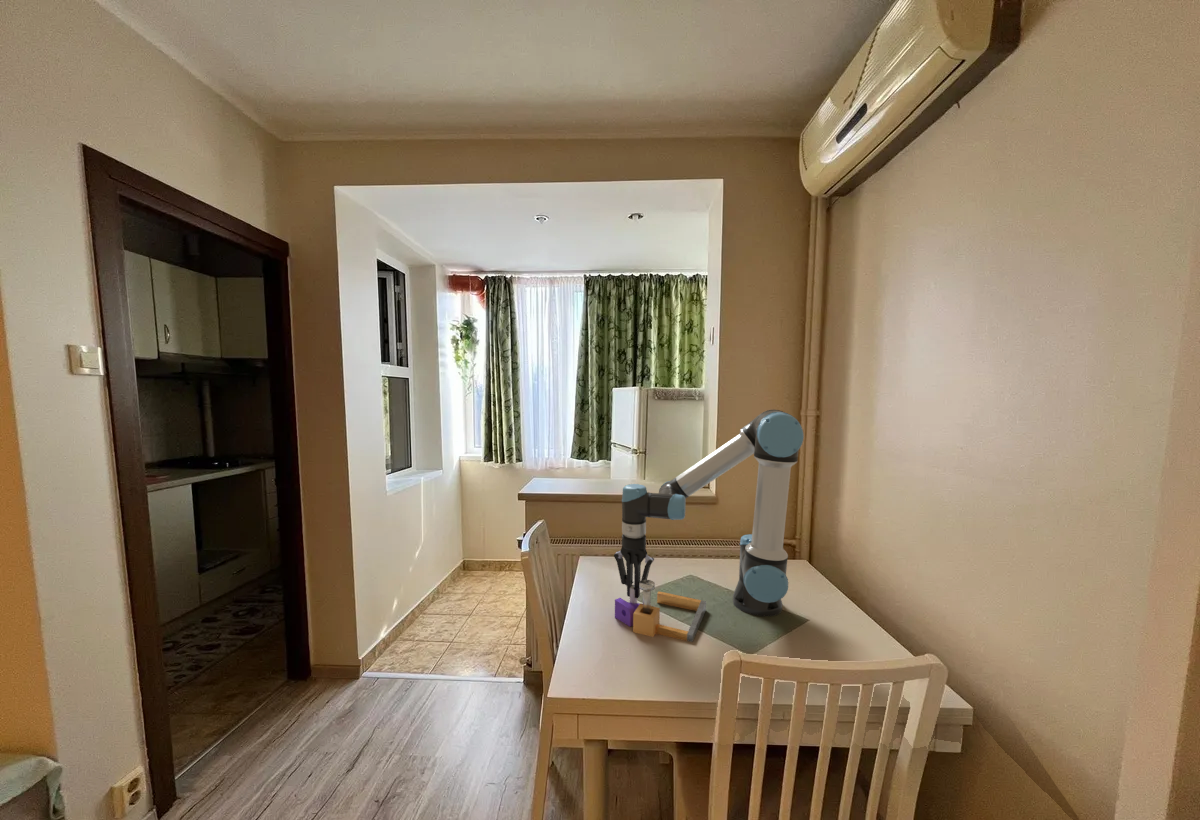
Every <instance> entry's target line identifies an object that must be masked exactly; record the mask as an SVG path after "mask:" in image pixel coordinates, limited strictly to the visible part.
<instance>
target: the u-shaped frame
mask: <svg viewBox="0 0 1200 820" xmlns="http://www.w3.org/2000/svg"><path fill="white" fill-rule="evenodd" d="M656 596H657V597H656V604H662V605H665V606H671V607H676V608H680V609H686V610H691V611H695V614H694V617H693V619H692V622H691V623H690V626H689V629H688V630H683V629H679V628H676V627H672V626H667V625H664V624H660V623H659V624H657V625H656V630H655V635H661V636H664V637H669V638H673V639H677V640H682V641H687V642H691V643H693V642H694V639H695V636H696V635H697V632H698V630H699V627H700V625H701V623H702V621H703V618H704V616H705V613H706V611H707V600H701V599H698V598H694V597H693V598H691V597H687V596H682V595H678V594H673V593H669V592H664V591H657V594H656Z"/></svg>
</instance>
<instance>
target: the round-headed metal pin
mask: <svg viewBox="0 0 1200 820" xmlns="http://www.w3.org/2000/svg"><path fill="white" fill-rule="evenodd" d="M655 586H656V584H655V581H653V580H651V579H647V580H642V581H641V580H640V582H639V588H640V591H642V604H643V613H644V614H649V615H650V614H651V606H652V604H651V603H652V602H651V600H652V599H651V598H652V597H651V595H652V592H653V590H656V589H655Z"/></svg>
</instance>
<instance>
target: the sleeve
mask: <svg viewBox="0 0 1200 820" xmlns="http://www.w3.org/2000/svg"><path fill="white" fill-rule="evenodd" d="M660 613H661V609H660V607H657V606H652V605H651V614H650V615H649V614H644V613H643V603H640V605H639V606H638V607H637V609H636V610H635V612H634V613H633V627H632V632H633V633H635V634H638V635H644V636H646V637H651V638H654V637H655V635H656V634H655V630H656V625H657V624H660V622H661V621H660Z"/></svg>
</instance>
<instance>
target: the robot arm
mask: <svg viewBox="0 0 1200 820" xmlns="http://www.w3.org/2000/svg"><path fill="white" fill-rule="evenodd" d="M804 437H805V436H804V429H803V427H802V425H801V423H800V422H799V421H798V419H797V418H796V417H794V416H793V415H791V414H789V413H787V412H785V411H783V410H779V409H767V410H764V411H763V412H760V413H759V414H758V415H757V416H756V417H754V419H752V420H751V421H749V422H748V423H747V424H746V425H745V426H743V427H742V428H740V430H739V434H737V435H736V436H734V437H733V438H731V439H729V440H728V441H726V442H725V443H724V444H723V445H721V446H719V447H718V448H716V449H715V450H713V451H712V452H711V453H709V454H707V456H705V457H704V458H701V460H698V462H696V463H694V464H693V465H691V466H690V467H689V468H686V470H684V471H682V472H681V473H680V474H678V475H676V477H674V478H672V479H671V480H669V481H665V482H664V483H663V484H662V485H661V486H660V488H659V489H658V492H649V491H648V490H647V487H646V486H645V485H644V484H639V483H631V484H627V485H624V487H623V488H622V493H621V494H622V497H621V533H622V535H621V548H620V550H619V551H616V552H615V553H614V554H613V557H614V560H615V561H616V563H617V569H618V574H619V578H620V583H621V584H622V585H625V586H626V596H627V597H629V602H631V603H634V604H635V603H638V599H639V598H640V597H641V589H640V588H639V582H640V581H642V580H648V576H649V573H650V571H651V565H652V564H653V563H654V561H655V557H653V556H652V557H651V556H649V555H648V551H647V535H646V534H647V518H651V519H652V518H653V519H663V520H672V521H674V520H675V521H677V520H678V521H679V520H680V521H681V520H684V519H685V517H686V503H687V502H686V499H687V498H689V497H690V496H692V495H694V494H695V493H696V492H698V491H699V490H701V489H702V488H704V487H705V486H707V485H708V484H710V483H711V482H713V481H714V480H716V479H717V478H719V477H720V476H722V475H723V474H725V473H727V472H728V471H730V470H731V469H733V468H734V467H736V466H737V465H738V464H740V463H742V462H744V461H745V460H746V459H748V458H749V457H751V456H752V455H753V458H754V459H755V460H756V462H757V464H758V469H757V476H756V477H757V480H756V490H755V500H754V501H755V502H754V512H753V522H752V532H751V534H750V533H749V534H744V535H742V536H741V537H740V543H739V567H738V568H739V569H738V570H739V573H738V581H737V583H736V586H735V589H734V592H733V594H732V604H733V605H734V607H736V608H737V609H738V610H739V611H741V612H743V613H745V614H749V615H753V616H756V617H757V616H758V617H774V616H778V615H779V613H780V614H781V613H782V612H783V602H782V601H783V600H782V599H783V598H784V597H785V596H786V594H787V593H788V590H789V579H788V576H787V568H788V558H789V555H788V553H787V551H786V550H785V548H784V539H785V538H784V537H785V529H786V518H787V509H788V498H789V491H790V489H789V488H790V480H791V469H792V467H793V466H795V465H796V464H797V463H798V461H799V451H800V449H801V447H802V445H803V442H804ZM644 559H645V560H644ZM624 560H625V562H624ZM643 561H644V563H645V565H644V568H643V571H642V575H641V565H642V562H643ZM625 565H626V566H625ZM633 579H634V580H633ZM781 611H782V612H781Z"/></svg>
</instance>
